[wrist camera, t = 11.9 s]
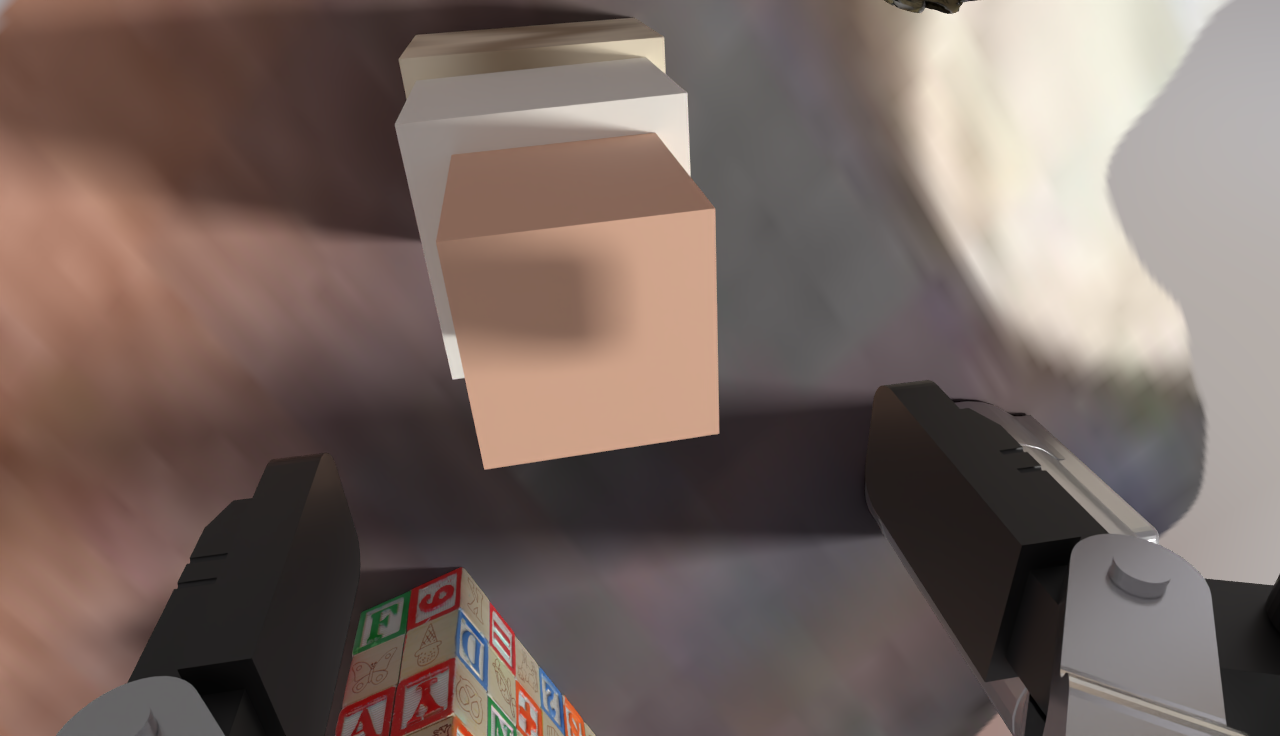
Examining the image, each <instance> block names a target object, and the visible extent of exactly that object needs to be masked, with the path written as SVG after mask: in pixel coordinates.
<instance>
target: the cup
mask: <svg viewBox="0 0 1280 736" xmlns="http://www.w3.org/2000/svg"><path fill="white" fill-rule="evenodd" d="M884 1H886V2H887V3H889V4H891V5H893V4H894V5H895V6H896V7H897V8H900V9H903V10H907V11H911V12H915V13H921V12H923V11H924V8H929V9H934V10H938V11H940V12H943V13H947V14H952V13H956V12H958V11H959V7H960V6H961V5H962V3H963V2H967V1H975V0H884Z"/></svg>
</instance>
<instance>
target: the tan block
mask: <svg viewBox="0 0 1280 736" xmlns="http://www.w3.org/2000/svg"><path fill="white" fill-rule="evenodd" d="M436 245H437V250H438V254H439V259H440V264H441V269H442V273H443V278H444V283H445V287H446V292H447V297H448V301H449V306H450V311H451V315H452V320H453V325H454V330H455V334H456V339H457V344H458V348H459V353H460V358H461V362H462V367H463V372H464V377H465V381H466V386H467V391H468V395H469V400H470V405H471V409H472V414H473V419H474V424H475V428H476V433H477V438H478V442H479V447H480V452H481V456H482V461H483V466H484V470H486V469H492V468H499V467H505V466H512V465H518V464H525V463H531V462H538V461H544V460H551V459H558V458H564V457H571V456H577V455H584V454H590V453H597V452H603V451H610V450H616V449H623V448H629V447H636V446H642V445H649V444H655V443H662V442H668V441H675V440H681V439H688V438H694V437H701V436H707V435H714V434H719V392H718V338H717V284H716V230H715V208H714V206H713V205H712V204H711V203H710V201H709V200H708V199H707V197H706V196H705V195H704V194H703V192H702V191H701V190H700V189H699V187H698V186H697V185H696V184H695V182H694V181H693V180H692V178H691V177H690V176H689V175H688V173H687V172H686V171H685V170H684V168H683V167H682V166H681V164H680V163H679V162H678V161H677V159H676V158H675V157H674V156H673V154H672V153H671V152H670V151H669V149H668V148H667V147H666V145H665V144H664V143H663V142H662V140H661V139H660V138H659V137H658V135H657V134H656V133H647V134H638V135H629V136H620V137H610V138H601V139H592V140H583V141H574V142H565V143H555V144H546V145H537V146H528V147H519V148H510V149H500V150H491V151H482V152H473V153H464V154H454V155H451V161H450V166H449V172H448V177H447V183H446V188H445V194H444V200H443V205H442V211H441V216H440V222H439V228H438V233H437V239H436Z"/></svg>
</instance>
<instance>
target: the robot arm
mask: <svg viewBox="0 0 1280 736" xmlns="http://www.w3.org/2000/svg"><path fill="white" fill-rule="evenodd" d="M865 481H866V482H865V499H866V502H867V506H868V509H869V511H870V513H871V514H872V516H873V517H874V519H875V520H876V522H877V523H878V525H879V527H880V529H881V532H882V533H883V535H884V537H885V538H887V540H888V541H889V543H890V544H891V546H892V547H893V549H894V551H895V552H896V554H897V555H898V557H899V558H900V560H901V562H902V563H903V565H904V567H905V568H906V570H907V571H908V573H909V574H910V576H911V578H912V579H913V581H914V582H915V584H916V585H917V587H918V589H919V590H920V592H921V593H922V595H923V596H924V598H925V599H926V601H927V603H928V604H929V606H930V607H931V609H932V610H933V612H934V613H935V615H936V617H937V618H938V620H939V621H940V623H941V624H942V626H943V627H944V629H945V631H946V632H947V634H948V635H949V637H950V638H951V640H952V641H953V643H954V645H955V646H956V648H957V649H958V651H959V652H960V654H961V655H962V657H963V659H964V660H965V662H966V663H967V665H968V666H969V668H970V670H971V671H972V673H973V674H974V676H975V677H976V679H977V680H978V682H979V684H980V685H981V687H982V688H983V690H984V691H985V693H986V694H987V696H988V698H989V699H990V701H991V702H992V704H993V705H994V707H995V708H996V710H997V712H998V713H999V715H1000V716H1001V718H1002V719H1003V721H1004V722H1005V724H1006V725H1007V727H1008V729H1009V730H1010V732H1011V733H1012V735H1013V736H1280V575H1279V577H1278V579H1277V581H1276V583H1275V585H1262V584H1253V583H1243V582H1233V581H1223V580H1213V579H1204V578H1203V576H1202V575H1201V574H1200V573H1199V571H1197V570H1196V569H1195V568H1194V567H1193V566H1192V565H1191V564H1190V563H1189V562H1187V561H1186V560H1185V559H1183V558H1182V557H1181V556H1179V555H1177V554H1176V553H1174V552H1173V551H1171V550H1169V549H1167V548H1165V547H1163V546H1161V545H1158V543H1159V535H1158V533H1157V531H1156V529H1155V528H1154V527H1153V526H1152V525H1151V524H1150V523H1149V522H1147V521H1146V520H1145V519H1144V518H1143V517H1142V516H1141V515H1140V514H1139V513H1138V512H1136V511H1135V510H1134V509H1133V508H1132V507H1131V506H1130V505H1129V504H1128V503H1127V502H1125V501H1124V500H1123V499H1122V498H1121V497H1120V496H1119V495H1118V494H1117V493H1116V492H1114V491H1113V490H1112V489H1111V488H1110V487H1109V486H1108V485H1107V484H1106V483H1105V482H1103V481H1102V480H1101V479H1100V478H1099V477H1098V476H1097V475H1096V474H1095V473H1094V472H1092V471H1091V470H1090V469H1089V468H1088V467H1087V466H1086V465H1085V464H1084V463H1083V462H1082V461H1080V460H1079V459H1078V458H1077V457H1076V456H1075V455H1074V454H1073V453H1072V452H1071V451H1069V450H1068V449H1067V448H1066V447H1065V446H1064V445H1063V444H1062V443H1061V442H1060V441H1058V440H1057V439H1056V438H1055V437H1054V436H1053V435H1052V434H1051V433H1050V432H1049V431H1047V430H1046V429H1045V428H1044V427H1043V426H1042V425H1041V424H1040V423H1039V422H1038V421H1036V420H1035V419H1034V418H1033V417H1032V416H1031V415H1026V416H1013V415H1010V414H1009V413H1007V412H1005V411H1004V410H1002V409H1001V408H999V407H997V406H994V405H991V404H987V403H984V402H971V401H965V402H957V403H954V402H953V401H952V400H951V399H950V398H949V397H948V396H947V395H946V394H945V393H944V392H943V391H942V390H941V389H940V387H939V386H938V385H937V384H935V383H934V382H933V381H930V380H924V381H916V382H908V383H900V384H892V385H884V386H880V387H879V388H878V389H877V391H876V393H875V396H874V401H873V409H872V417H871V425H870V433H869V441H868V449H867V456H866V464H865ZM359 576H360V549H359V542H358V537H357V533H356V530H355V527H354V523H353V520H352V517H351V513H350V510H349V507H348V504H347V500H346V497H345V494H344V490H343V487H342V484H341V480H340V477H339V474H338V471H337V467H336V464H335V462H334V460H333V458H332V456H331V455H330V454H328V453H321V454H313V455H305V456H297V457H289V458H281V459H273V460H271V461H270V462H269V463H268V465H267V466H266V469H265V471H264V473H263V475H262V478H261V480H260V482H259V484H258V487H257V489H256V491H255V494H254V496H253V498H250V499H243V500H235V501H233V502H231V503H230V504H229V505H228V506H227V507H226V508H225V509H224V510H223V511H222V512H221V513H220V514H219V515H218V516H217V517H216V518H215V519H214V520H213V521H212V522H211V523H210V524H209V525H208V526H206V527H205V529H204V531H203V533H202V535H201V537H200V539H199V541H198V543H197V545H196V547H195V549H194V551H193V553H192V555H191V557H190V564H187V565H186V567H185V569H184V571H183V573H182V575H181V577H180V579H179V581H178V589H174V591H173V593H172V595H171V597H170V599H169V601H168V603H167V605H166V607H165V609H164V611H163V613H162V615H161V617H160V619H159V621H158V623H157V625H156V627H155V629H154V631H153V633H152V635H151V637H150V639H149V641H148V643H147V645H146V647H145V649H144V651H143V653H142V655H141V657H140V659H139V661H138V663H137V665H136V667H135V669H134V671H133V673H132V675H131V677H130V679H129V681H128V683H127V684H124V685H122V686H119V687H117V688H115V689H113V690H111V691H109V692H107V693H105V694H103V695H102V696H100V697H99V698H97V699H95V700H94V701H92V702H91V703H89V704H88V705H87V706H85V707H84V708H83V709H82V710H80V711H79V712H78V713H77V714H76V715H75V716H73V717H72V718H71V719H70V720H69V721H68V722H67V723H66V724H65V725H64V726H63V728H62V729H61V730H60V731H59V732H58V733H57V735H56V736H325V731H326V727H327V722H328V718H329V713H330V709H331V704H332V700H333V695H334V690H335V686H336V681H337V677H338V672H339V668H340V663H341V659H342V654H343V650H344V645H345V641H346V636H347V632H348V627H349V623H350V618H351V614H352V609H353V605H354V600H355V596H356V591H357V587H358V582H359Z"/></svg>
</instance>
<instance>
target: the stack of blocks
mask: <svg viewBox="0 0 1280 736" xmlns="http://www.w3.org/2000/svg"><path fill="white" fill-rule="evenodd" d="M352 658H353V660H352V662H351V667H350V671H349V676H348V680H347V685H346V689H345V694H344V699H343V704H342V710H341V711H340V714H339V717H338V721H337V726H336V729H335V736H596V735H595V734H594V733H593V732H592V731H591V729H590V728H589V727H588V725H587V724H586V723H585V722H583V719H582V718H581V716H580V715H579V714H578V713H577V711H576V710H575V709H574V707H573V706H572V705H571V703H570V702H569V701H568V700H567V699H566V697H565V696H564V695H561V693H560V691H559V690H558V689H557V688H556V686H555V685H554V684H553V683H552V681H551V680H550V679H549V678H548V676H547V675H546V674H545V673H544V671H543V670H542V669H541V667H539V666H538V665H537V663H536V662H535V660H534V659H533V658H532V657H531V655H530V654H529V653H528V652H527V650H526V649H525V648H524V647H523V645H522V644H521V643H520V642H519V640H518V639H517V638H516V637H515V634H514V632H513V631H512V630H511V628H510V627H509V626H508V624H507V623H506V622H505V621H504V619H503V618H502V617H501V615H500V614H499V613H498V612H497V610H496V609H495V608H494V607H493V605H492V604H491V603H490V602H489V600H488V598H487V597H486V596H485V594H484V593H483V592H482V590H481V589H480V588H479V587H478V585H477V584H476V583H475V581H474V580H473V579H472V578H471V576H470V575H469V574H468V573H467V571H466V570H465V569H464V568H463V567H460V568H458V569H456V570H454V571H451V572H449V573H447V574H445V575H442V576H440V577H438V578H436V579H433V580H431V581H429V582H427V583H425V584H422V585H420V586H418V587H416V588H413V589H412V590H411V591H409V592H406V593H404V594H402V595H400V596H397V597H395V598H393V599H390V600H388V601H386V602H384V603H381V604H379V605H377V606H375V607H372V608H370V609H368V610H365V611H363V612H361V616H360V620H359V624H358V629H357V633H356V637H355V642H354V647H353V651H352Z"/></svg>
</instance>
